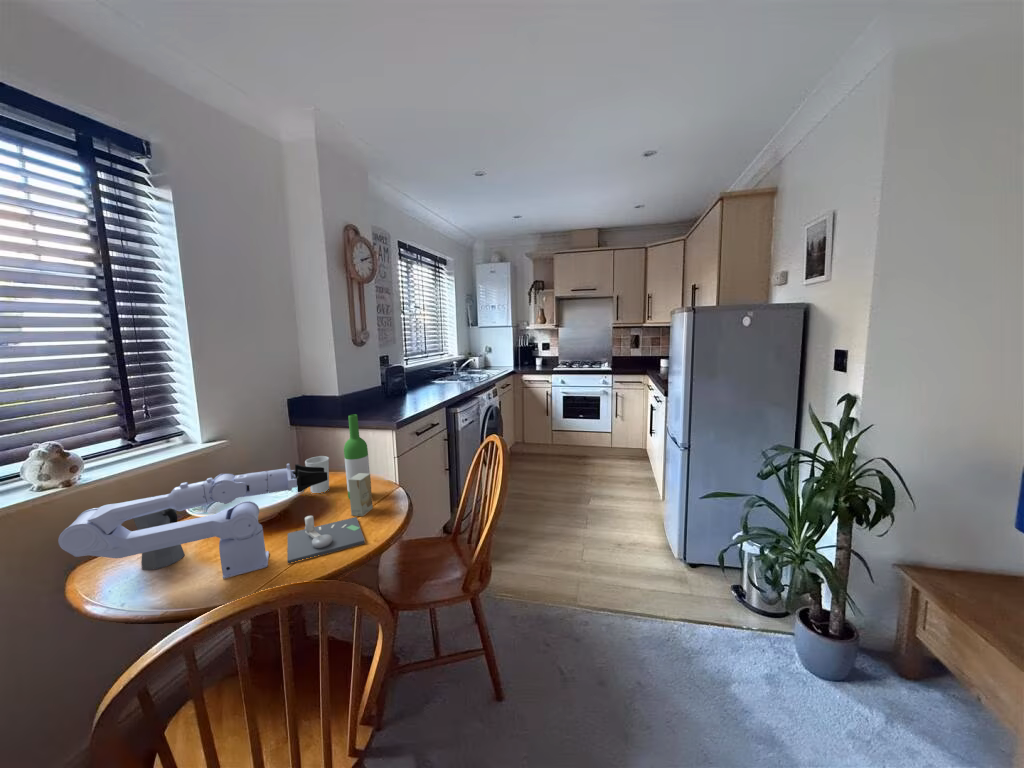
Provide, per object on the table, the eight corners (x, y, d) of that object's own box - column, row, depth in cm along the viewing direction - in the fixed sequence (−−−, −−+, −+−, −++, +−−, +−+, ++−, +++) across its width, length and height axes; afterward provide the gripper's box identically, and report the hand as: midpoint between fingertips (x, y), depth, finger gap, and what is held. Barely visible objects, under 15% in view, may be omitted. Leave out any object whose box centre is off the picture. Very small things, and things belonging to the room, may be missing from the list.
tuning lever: (335, 542, 112) (333, 524, 111) (317, 550, 108) (315, 532, 107) (314, 527, 120) (312, 510, 120) (296, 533, 117) (294, 517, 116)
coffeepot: (127, 564, 106) (115, 500, 103) (169, 546, 115) (159, 486, 112) (161, 578, 100) (149, 509, 97) (203, 557, 108) (193, 494, 106)
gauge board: (287, 564, 104) (287, 560, 104) (288, 536, 118) (287, 533, 118) (365, 543, 113) (364, 539, 113) (356, 519, 127) (356, 516, 127)
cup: (303, 494, 148) (299, 463, 146) (317, 485, 155) (314, 455, 154) (323, 495, 146) (319, 463, 144) (336, 486, 154) (333, 456, 152)
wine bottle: (343, 499, 143) (335, 416, 138) (363, 491, 149) (356, 411, 144) (356, 504, 138) (349, 418, 134) (376, 496, 144) (369, 414, 140)
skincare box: (363, 516, 129) (359, 480, 127) (350, 515, 130) (347, 479, 128) (373, 507, 135) (370, 472, 133) (362, 506, 136) (358, 472, 134)
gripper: (266, 471, 98) (327, 463, 105) (267, 462, 111) (322, 455, 117) (268, 500, 98) (329, 490, 105) (269, 488, 111) (323, 479, 117)
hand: (325, 473), depth 111 cm, fingers open, 7 cm apart
